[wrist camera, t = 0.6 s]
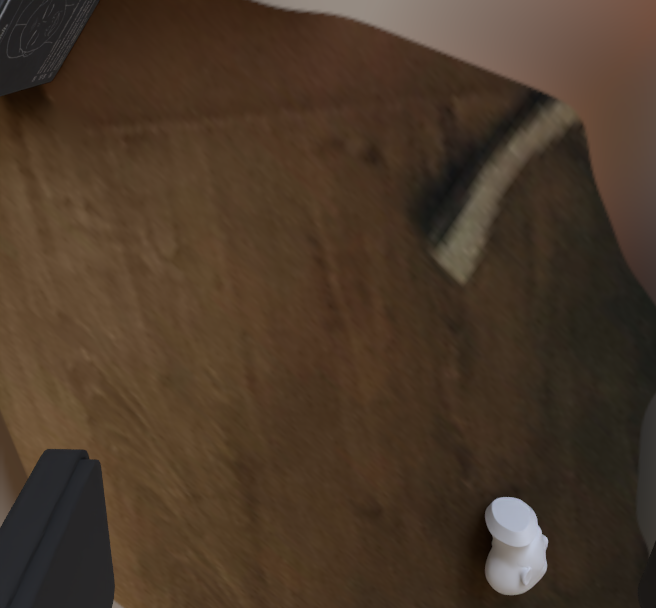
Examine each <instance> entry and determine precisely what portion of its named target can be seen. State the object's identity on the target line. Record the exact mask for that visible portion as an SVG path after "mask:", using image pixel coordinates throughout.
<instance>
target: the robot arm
mask: <svg viewBox="0 0 656 608" xmlns="http://www.w3.org/2000/svg"><path fill="white" fill-rule="evenodd" d="M114 589H115V584H114V574H113V565H112V557H111V548H110V540H109V531H108V522H107V514H106V505H105V497H104V488H103V480H102V471H101V465H100V462H99V460H89V456H88V453H87V451H86V450H71V449H47V450H45V451H44V453H43V454H42V455H41V457H40V459H39V460H38V462H37V464H36V466H35V467H34V469H33V471H32V473H31V475H30V476H29V478H28V480H27V482H26V483H25V485H24V487H23V489H22V490H21V492H20V494H19V496H18V498H17V499H16V501H15V503H14V505H13V507H12V508H11V510H10V512H9V513H8V515H7V517H6V519H5V520H4V522H3V524H2V526H1V528H0V608H112V604H113V599H114ZM638 598H639V603H640V606H641V608H656V542H655V545H654V547H653V549H652V552H651V555H650V557H649V560H648V562H647V565H646V568H645V570H644V573H643V575H642V578H641V580H640V583H639V587H638Z"/></svg>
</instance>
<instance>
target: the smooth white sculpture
mask: <svg viewBox="0 0 656 608" xmlns="http://www.w3.org/2000/svg"><path fill="white" fill-rule="evenodd" d="M485 520H486V524H487V527H488V529H489V531H490V533H491V534H492V536H493V540H492V549H491V550H490V553H489V555H488V558H487V561H486V565H485V575H486V578H487V581H488V582H489V584H490V585H491V587H492V588H493V589H495V590H496V591H498V592H499V593H502V594H505V595H517V594H521V593H524V592H526V591H528V590H529V589H530V588H532V587H533V586H534V585H535V584H536V583H537V582H538V581H539V580H540V579H541V578H542V577H543V575H544V574H545V572H546V570H547V561H546V554H545V551H546V548H547V545H548V539H547V537H546V536H544V535H542V531H541V528H540V527H539V526H538V523H537V517H536V514H535V512H534V511H533V509H532V508H531V507H530V506H528V505H527V504H526V503H525V502H523V501H522V500H520V499H517V498H512V497H501V498H497V499H495V500H494V501H493V502H492V503H491V504H490V505H489V506H488V507H487V509H486V511H485Z"/></svg>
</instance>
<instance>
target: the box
mask: <svg viewBox="0 0 656 608" xmlns="http://www.w3.org/2000/svg"><path fill="white" fill-rule="evenodd" d="M98 2H99V0H0V96H3V95H7V94H10V93H13V92H17V91H20V90H23V89H27V88H31V87H34V86H37V85H41V84H44V83H48V82H51V81H52V80H53V79H54V77H55V76H56V74H57V72H58V71H59V69H60V67H61V66H62V64H63V62H64V60H65V59H66V57H67V55H68V53H69V52H70V50H71V49H72V47H73V45H74V43H75V42H76V40H77V38H78V36H79V35H80V33H81V31H82V30H83V28H84V26H85V25H86V23H87V21H88V19H89V18H90V16H91V14H92V13H93V11H94V9H95V7H96V6H97V4H98Z"/></svg>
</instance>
